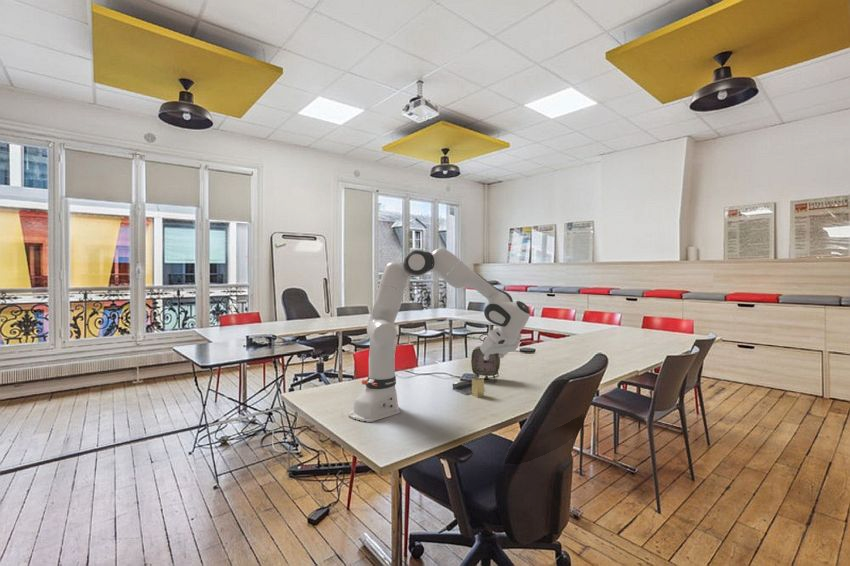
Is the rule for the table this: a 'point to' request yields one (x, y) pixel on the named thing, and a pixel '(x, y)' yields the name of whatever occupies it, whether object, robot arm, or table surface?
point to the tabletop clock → (485, 363)
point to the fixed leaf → (463, 387)
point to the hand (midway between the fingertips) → (493, 358)
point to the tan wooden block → (477, 387)
